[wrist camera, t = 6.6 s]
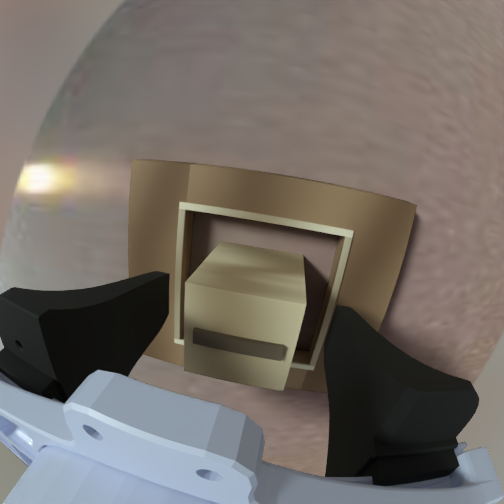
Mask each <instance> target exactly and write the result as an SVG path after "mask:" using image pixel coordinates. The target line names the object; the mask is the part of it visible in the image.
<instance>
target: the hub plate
mask: <svg viewBox="0 0 504 504" xmlns="http://www.w3.org/2000/svg"><path fill="white" fill-rule="evenodd" d="M416 207H417V205H415V204H412V203H410V202H407V201H404V200H400V199H396V198H392V197H388V196H384V195H380V194H376V193H371V192H367V191H363V190H358V189H354V188H349V187H344V186H340V185H335V184H330V183H325V182H320V181H314V180H309V179H304V178H298V177H292V176H286V175H280V174H274V173H268V172H261V171H254V170H247V169H239V168H232V167H224V166H215V165H206V164H196V163H186V162H175V161H162V160H147V159H139V160H132V166H131V179H130V195H129V224H128V261H129V278H131V277H135V276H138V275H141V274H145V273H149V272H153V271H160V272H164V273H169V274H170V279H169V315H168V317H167V319H166V321H165V323H164V325H163V327H162V328H161V330H160V332H159V333H158V334H157V336H156V337H155V338H154V340H153V341H152V342H151V344H150V345H149V346H148V348H147V349H146V350H145V352H144V353H143V354H144V355H147V356H150V357H153V358H156V359H160V360H163V361H166V362H170V363H173V364H177V365H180V366H184V304H185V282H186V281H187V280H188V278H189V275H190V259H191V244H192V231H193V220H194V211H199V212H205V213H212V214H218V215H225V216H231V217H237V218H244V219H250V220H256V221H262V222H268V223H274V224H279V225H285V226H291V227H296V228H302V229H307V230H313V231H318V232H324V233H329V234H334V235H340V236H339V240H338V245H337V249H336V253H335V258H334V262H333V266H332V270H331V274H330V278H329V282H328V286H327V290H326V293H325V297H324V301H323V305H322V308H321V312H320V315H319V319H318V322H317V326H316V329H315V333H314V336H313V339H312V342H311V346H310V349H309V351H305V350H299V349H295V351H294V355H293V359H292V362H291V366H290V369H289V373H288V376H287V380H286V383H285V387H284V388H291V389H298V390H305V391H313V392H322V393H328V391H327V384H326V376H325V369H324V342H325V339H326V336H327V333H328V330H329V327H330V324H331V321H332V317H333V314H334V311H335V307H336V305H341V306H347V307H351V308H352V309H353V310H355V311H356V312H357V313H358V314H359V315H360V316H361V317H362V318H363V319H364V320H365V321H366V322H367V323H368V324H369V325H371V326H372V327H373V328H374V329H375V330H376V331H377V332H378V331H379V329H380V326H381V324H382V321H383V319H384V316H385V313H386V310H387V308H388V305H389V302H390V299H391V296H392V293H393V290H394V287H395V284H396V281H397V278H398V275H399V272H400V269H401V265H402V262H403V258H404V255H405V251H406V248H407V244H408V240H409V236H410V233H411V228H412V224H413V220H414V216H415V211H416Z"/></svg>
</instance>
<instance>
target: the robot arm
mask: <svg viewBox="0 0 504 504" xmlns="http://www.w3.org/2000/svg"><path fill="white" fill-rule="evenodd" d="M169 279H170V274H169V273H164V272H160V271H153V272H149V273H145V274H141V275H138V276H135V277H131V278H128V279H125V280H121V281H118V282H114V283H110V284H106V285H102V286H97V287H92V288H86V289H78V290H65V291H41V290H30V289H22V288H16V287H14V288H11V289H9V290H7V291H6V292H4V293H2V294H1V295H0V337H1V340H2V343H3V345H4V347H5V348H4V349H2V350H1V351H0V440H1V442H3V443H4V444H5V445H6V446H7V447H8V448H9V449H10V450H11V451H12V452H13V453H14V454H15V455H16V456H18V457H19V458H20V459H21V460H22V461H23V462H24V463H26V464H27V465H28V466H29V467H28V469H27V470H26V471H25V473H24V474H23V475H22V477H21V478H20V480H19V481H18V483H17V484H16V485H15V487H14V488H13V489H12V491H11V492H10V494H9V495H8V497H7V498H6V499H5V501H4V502H3V504H496V503H497V502H498V501H500V500H501V499H502V498H503V496H504V494H503V491H502V488H501V485H500V482H499V480H498V477H497V474H496V472H495V469H494V466H493V464H492V461H491V459H490V456H489V454H488V452H487V449H486V447H480V448H477V449H473V450H469V451H465V452H463V449H464V448H465V447H466V445H467V444H466V442H462V443H458V442H457V439H456V436H457V435H458V434H459V433H460V432H461V431H462V429H463V428H464V427H465V426H466V424H467V423H468V422H469V421H470V419H471V418H472V416H473V415H474V414H475V412H476V409H477V407H478V403H479V397H478V395H477V393H476V391H475V389H474V387H473V386H472V384H471V382H470V381H468V380H464V379H461V378H458V377H454V376H451V375H448V374H445V373H443V372H440V371H438V370H435V369H433V368H431V367H429V366H427V365H425V364H423V363H421V362H419V361H417V360H415V359H414V358H412V357H410V356H409V355H407V354H405V353H404V352H403V351H401V350H400V349H398V348H397V347H395V346H394V345H393V344H391V343H390V342H389V341H388V340H386V339H385V338H384V337H383V336H382V335H380V334H379V333H378V332H377V331H376V330H375V329H374V328H373V327H372V326H371V325H369V324H368V323H367V322H366V321H365V320H364V319H363V318H362V317H361V316H360V315H359V314H358V313H357V312H356V311H355V310H353V309H352V308H351V307H347V306H341V305H336V307H335V311H334V314H333V317H332V321H331V324H330V327H329V330H328V333H327V336H326V339H325V342H324V369H325V376H326V384H327V391H328V399H329V411H330V419H329V444H328V456H327V465H326V474H325V477H321V476H317V475H312V474H308V473H304V472H300V471H296V470H292V469H289V468H285V467H282V466H278V465H275V464H272V463H268V462H265V461H262V457H263V450H264V444H265V441H264V435H263V430H262V428H261V427H260V426H259V425H257V424H256V423H255V422H254V421H253V420H252V419H250V418H249V417H248V416H247V415H246V414H244V413H242V412H239V411H237V410H234V409H231V408H229V407H226V406H224V405H221V404H217V403H213V402H208V401H204V400H200V399H197V398H193V397H189V396H186V395H182V394H179V393H175V392H172V391H168V390H165V389H162V388H159V387H156V386H153V385H150V384H147V383H144V382H141V381H138V380H135V379H132V378H130V377H128V375H129V374H130V372H131V370H132V368H133V367H134V365H135V364H136V362H137V361H138V360H139V358H140V357H141V356H142V354H143V353H144V352H145V350H146V349H147V348H148V346H149V345H150V344H151V342H152V341H153V340H154V338H155V337H156V336H157V334H158V333H159V332H160V330H161V328H162V327H163V325H164V323H165V321H166V319H167V317H168V315H169Z"/></svg>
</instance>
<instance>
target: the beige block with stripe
mask: <svg viewBox="0 0 504 504" xmlns="http://www.w3.org/2000/svg"><path fill="white" fill-rule="evenodd" d="M306 305H307V303H306V287H305V273H304V260H303V255H300V254H294V253H288V252H282V251H276V250H271V249H265V248H259V247H253V246H247V245H241V244H235V243H229V242H223V241H221V242H220V243H219V244H218V245H217V246H216V248H215V249H214V250H213V251H212V252H211V253H210V254H209V256H208V257H207V258H206V259H205V260H204V261H203V262H202V263H201V265H200V266H199V267H198V268H197V269H196V270H195V271H194V273H193V274H192V275H191V276H190V277H189V278H188V280H187V281H186V282H185V304H184V371H188V372H192V373H195V374H199V375H204V376H208V377H212V378H216V379H221V380H225V381H230V382H235V383H240V384H245V385H250V386H256V387H261V388H267V389H273V390H280V391H283V390H284V387H285V383H286V380H287V376H288V373H289V369H290V366H291V362H292V359H293V355H294V351H295V348H296V344H297V340H298V336H299V333H300V329H301V325H302V321H303V317H304V313H305V309H306Z"/></svg>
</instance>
